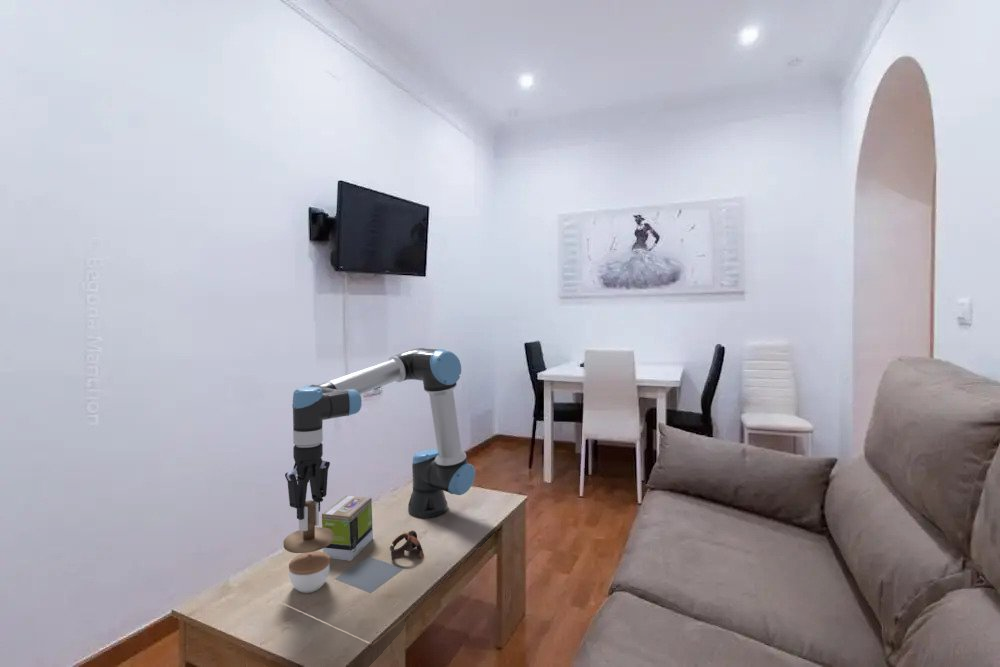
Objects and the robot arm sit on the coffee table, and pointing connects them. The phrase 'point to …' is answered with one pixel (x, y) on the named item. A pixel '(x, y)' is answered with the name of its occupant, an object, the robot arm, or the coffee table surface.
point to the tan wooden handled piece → (309, 535)
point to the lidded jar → (309, 571)
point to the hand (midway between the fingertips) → (308, 526)
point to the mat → (369, 574)
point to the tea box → (348, 526)
